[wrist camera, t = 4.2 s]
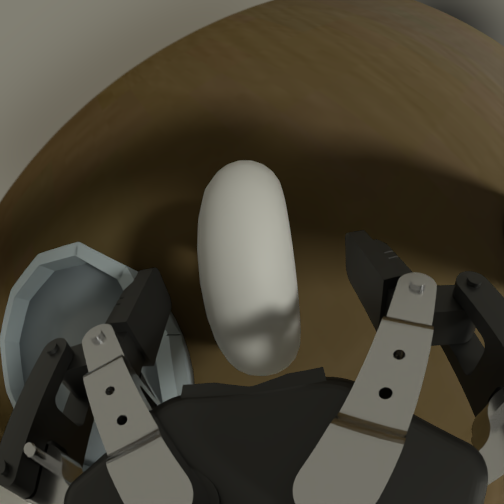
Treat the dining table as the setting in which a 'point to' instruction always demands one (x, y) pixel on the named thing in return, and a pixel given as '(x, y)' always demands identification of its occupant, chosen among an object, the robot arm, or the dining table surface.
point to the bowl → (78, 323)
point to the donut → (249, 269)
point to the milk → (10, 497)
